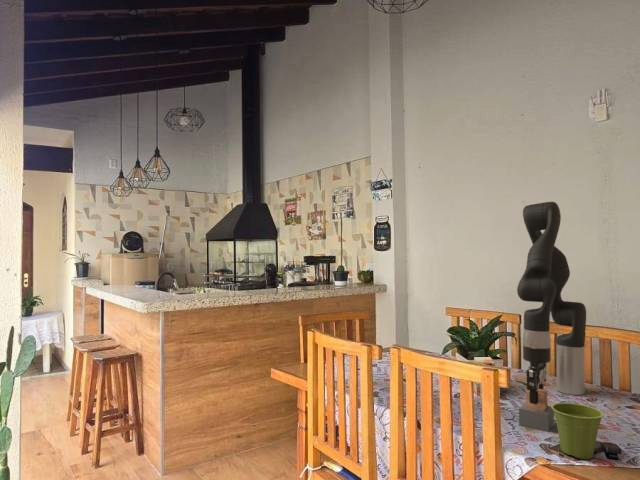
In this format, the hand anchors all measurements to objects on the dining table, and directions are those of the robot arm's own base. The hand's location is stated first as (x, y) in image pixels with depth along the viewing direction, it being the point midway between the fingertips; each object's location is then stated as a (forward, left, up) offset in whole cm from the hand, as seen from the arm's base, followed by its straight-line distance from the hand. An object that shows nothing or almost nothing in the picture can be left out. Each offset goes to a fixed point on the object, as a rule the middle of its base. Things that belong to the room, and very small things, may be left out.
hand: (536, 400), depth 139 cm
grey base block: (0, 0, -7) cm, 7 cm away
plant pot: (+15, +13, -7) cm, 21 cm away
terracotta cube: (0, 0, -2) cm, 2 cm away
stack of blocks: (-27, -26, -8) cm, 38 cm away
